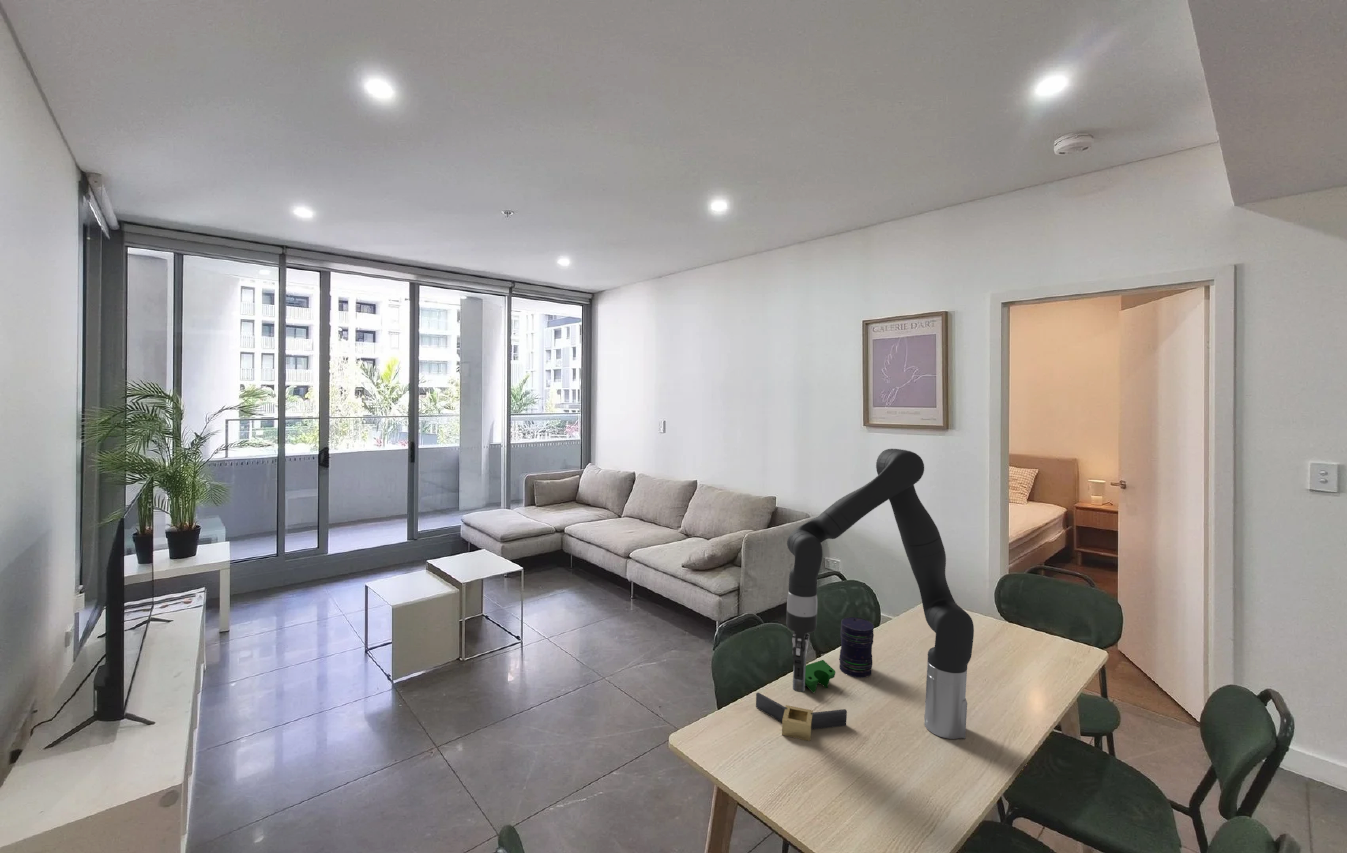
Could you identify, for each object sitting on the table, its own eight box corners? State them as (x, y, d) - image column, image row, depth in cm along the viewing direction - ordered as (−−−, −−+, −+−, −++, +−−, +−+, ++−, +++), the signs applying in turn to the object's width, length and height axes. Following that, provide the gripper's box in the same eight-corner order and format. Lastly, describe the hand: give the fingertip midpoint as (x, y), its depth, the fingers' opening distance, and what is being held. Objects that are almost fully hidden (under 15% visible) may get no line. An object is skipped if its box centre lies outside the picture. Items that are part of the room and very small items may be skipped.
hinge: (846, 723, 145) (846, 709, 144) (845, 748, 135) (846, 732, 134) (756, 705, 152) (756, 691, 152) (749, 727, 142) (749, 712, 142)
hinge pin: (805, 686, 142) (806, 649, 141) (804, 692, 139) (805, 654, 138) (793, 684, 143) (794, 647, 142) (792, 690, 140) (793, 652, 139)
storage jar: (876, 678, 168) (878, 630, 167) (844, 677, 168) (846, 630, 167) (865, 662, 178) (867, 617, 177) (835, 661, 178) (837, 616, 177)
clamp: (808, 706, 160) (805, 685, 156) (794, 691, 165) (791, 671, 161) (838, 683, 165) (836, 662, 160) (824, 669, 169) (821, 649, 165)
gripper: (815, 622, 132) (812, 692, 133) (819, 601, 145) (816, 665, 146) (783, 618, 134) (780, 686, 135) (790, 597, 147) (787, 660, 149)
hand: (799, 675), depth 141 cm, fingers closed on hinge pin, 3 cm apart
